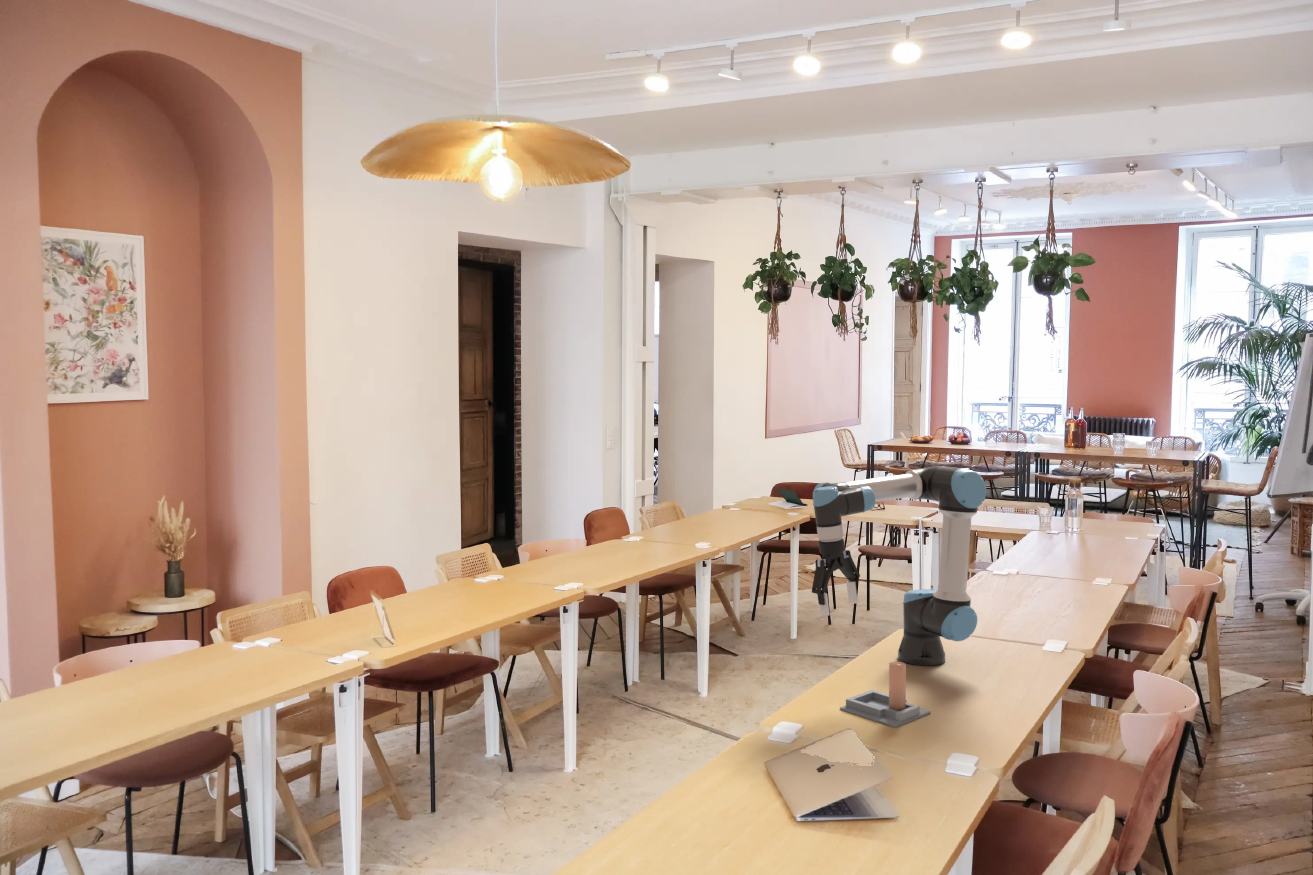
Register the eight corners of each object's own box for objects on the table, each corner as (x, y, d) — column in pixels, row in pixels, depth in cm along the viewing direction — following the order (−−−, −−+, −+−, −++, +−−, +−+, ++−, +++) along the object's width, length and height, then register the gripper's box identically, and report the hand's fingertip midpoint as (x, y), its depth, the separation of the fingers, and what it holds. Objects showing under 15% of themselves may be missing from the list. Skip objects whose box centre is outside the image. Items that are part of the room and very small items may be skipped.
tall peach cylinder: (895, 709, 276) (895, 660, 275) (908, 713, 272) (909, 664, 271) (885, 712, 273) (885, 663, 272) (899, 717, 269) (899, 667, 268)
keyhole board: (875, 696, 288) (875, 687, 288) (930, 713, 274) (930, 704, 273) (840, 709, 278) (840, 700, 278) (895, 727, 263) (895, 718, 263)
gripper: (846, 529, 301) (854, 596, 302) (794, 547, 284) (803, 618, 286) (866, 530, 295) (874, 599, 297) (814, 549, 279) (823, 621, 280)
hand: (839, 608), depth 291 cm, fingers open, 13 cm apart
